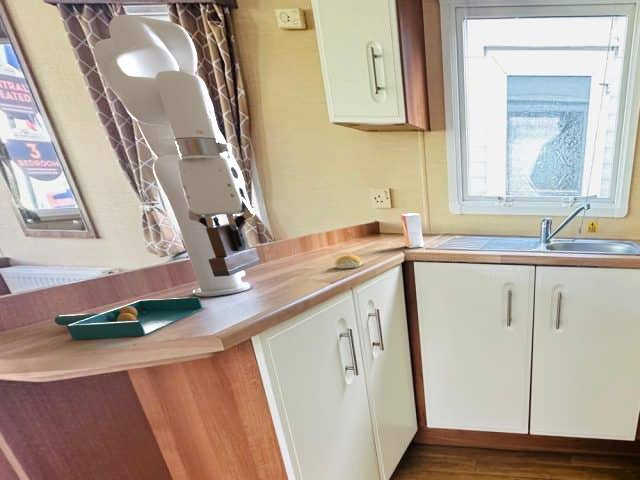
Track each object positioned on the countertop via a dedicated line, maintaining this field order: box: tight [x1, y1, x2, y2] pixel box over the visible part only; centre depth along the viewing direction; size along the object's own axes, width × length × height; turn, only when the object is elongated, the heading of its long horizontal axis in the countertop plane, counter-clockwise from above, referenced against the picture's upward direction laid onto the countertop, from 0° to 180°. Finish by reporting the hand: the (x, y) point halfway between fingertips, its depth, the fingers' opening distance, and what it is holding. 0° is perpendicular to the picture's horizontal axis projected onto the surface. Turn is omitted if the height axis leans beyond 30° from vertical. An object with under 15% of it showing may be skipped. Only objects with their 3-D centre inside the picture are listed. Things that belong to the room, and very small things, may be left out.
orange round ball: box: [119, 305, 138, 317], centre depth 87 cm, size 3×3×3 cm
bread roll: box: [334, 253, 363, 270], centre depth 139 cm, size 8×9×4 cm
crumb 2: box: [117, 313, 137, 322], centre depth 82 cm, size 3×3×3 cm
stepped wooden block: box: [206, 222, 261, 277], centre depth 88 cm, size 14×3×9 cm, turn 5°
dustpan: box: [53, 296, 203, 341], centre depth 85 cm, size 22×19×3 cm
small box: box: [400, 213, 425, 249], centre depth 179 cm, size 8×6×13 cm
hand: (233, 250), depth 88 cm, fingers closed on stepped wooden block, 2 cm apart
